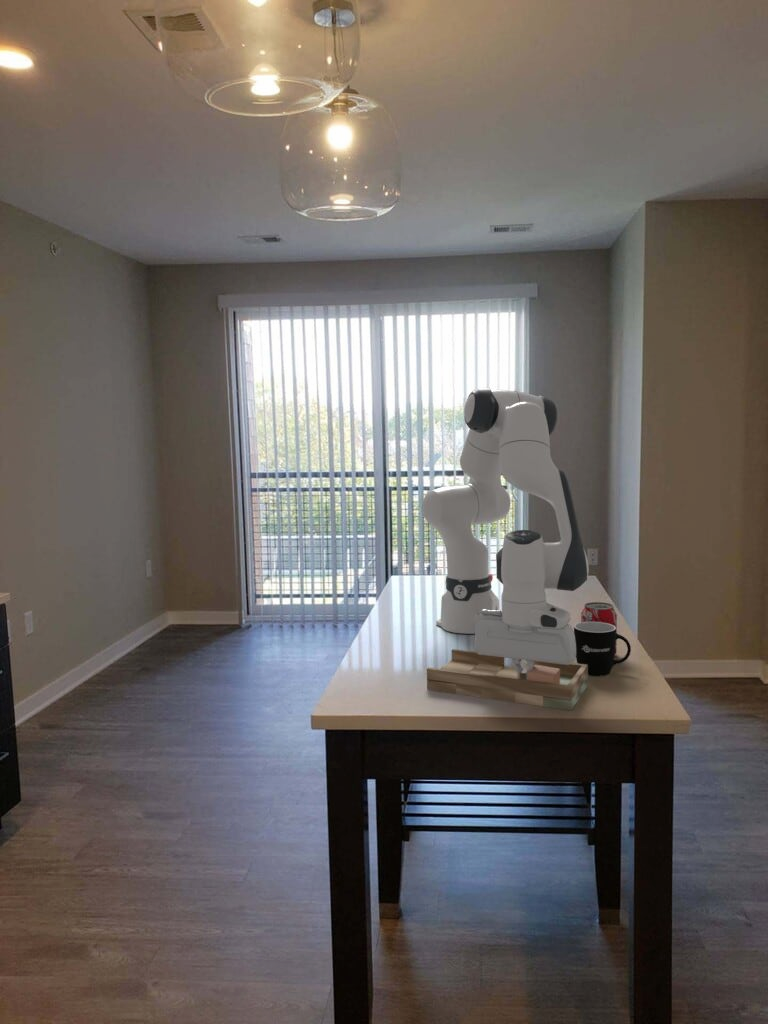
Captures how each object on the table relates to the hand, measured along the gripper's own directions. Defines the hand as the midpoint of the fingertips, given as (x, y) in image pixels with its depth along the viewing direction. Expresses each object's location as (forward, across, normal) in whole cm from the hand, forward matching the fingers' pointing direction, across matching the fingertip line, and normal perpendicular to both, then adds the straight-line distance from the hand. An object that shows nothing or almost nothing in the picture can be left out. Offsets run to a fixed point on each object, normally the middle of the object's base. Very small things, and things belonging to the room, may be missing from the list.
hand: (524, 680), depth 151 cm
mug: (+4, +11, +21) cm, 24 cm away
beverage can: (+4, +8, +33) cm, 34 cm away
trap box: (+3, -5, +4) cm, 7 cm away
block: (+1, +4, 0) cm, 4 cm away
